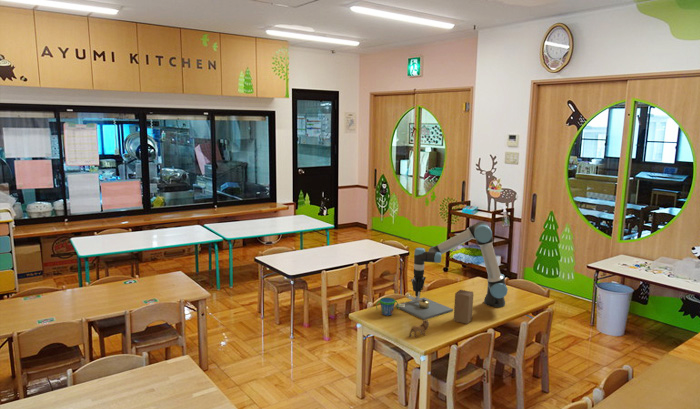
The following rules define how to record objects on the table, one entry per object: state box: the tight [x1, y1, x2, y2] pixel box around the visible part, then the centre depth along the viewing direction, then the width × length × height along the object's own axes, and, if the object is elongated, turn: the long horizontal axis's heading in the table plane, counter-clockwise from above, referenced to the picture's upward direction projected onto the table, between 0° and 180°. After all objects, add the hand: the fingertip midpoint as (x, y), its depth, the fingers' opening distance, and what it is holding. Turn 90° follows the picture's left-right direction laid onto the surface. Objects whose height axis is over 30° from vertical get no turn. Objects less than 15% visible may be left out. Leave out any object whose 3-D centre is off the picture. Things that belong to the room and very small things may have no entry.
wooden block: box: [453, 289, 474, 325], centre depth 333 cm, size 10×10×20 cm
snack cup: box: [375, 297, 399, 316], centre depth 343 cm, size 16×10×10 cm
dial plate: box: [394, 296, 454, 321], centre depth 354 cm, size 30×30×2 cm
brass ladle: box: [406, 294, 429, 308], centre depth 359 cm, size 22×7×6 cm, turn 37°
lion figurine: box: [408, 319, 429, 338], centre depth 309 cm, size 15×5×9 cm, turn 121°
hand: (417, 299), depth 363 cm, fingers closed
